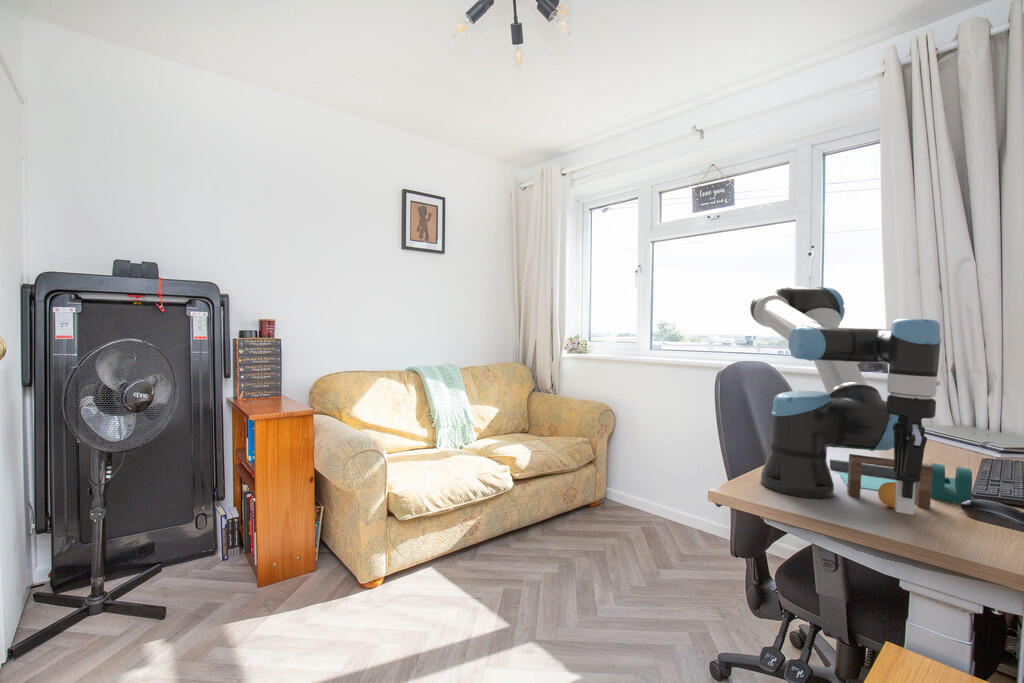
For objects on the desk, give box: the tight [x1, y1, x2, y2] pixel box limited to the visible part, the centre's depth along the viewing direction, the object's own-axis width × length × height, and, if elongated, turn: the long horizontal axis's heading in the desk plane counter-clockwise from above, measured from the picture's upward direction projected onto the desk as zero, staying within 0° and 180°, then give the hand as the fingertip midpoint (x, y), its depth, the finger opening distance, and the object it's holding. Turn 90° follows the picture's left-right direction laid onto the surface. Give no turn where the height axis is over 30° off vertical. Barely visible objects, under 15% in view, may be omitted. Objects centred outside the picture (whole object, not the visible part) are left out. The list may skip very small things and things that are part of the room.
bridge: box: [846, 453, 932, 509], centre depth 108 cm, size 3×14×9 cm, turn 63°
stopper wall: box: [829, 458, 896, 479], centre depth 130 cm, size 16×2×2 cm, turn 63°
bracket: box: [930, 462, 973, 505], centre depth 115 cm, size 18×7×8 cm, turn 141°
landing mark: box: [837, 471, 896, 492], centre depth 120 cm, size 13×13×1 cm
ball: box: [877, 482, 896, 509], centre depth 103 cm, size 6×6×6 cm
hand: (904, 512), depth 95 cm, fingers closed
